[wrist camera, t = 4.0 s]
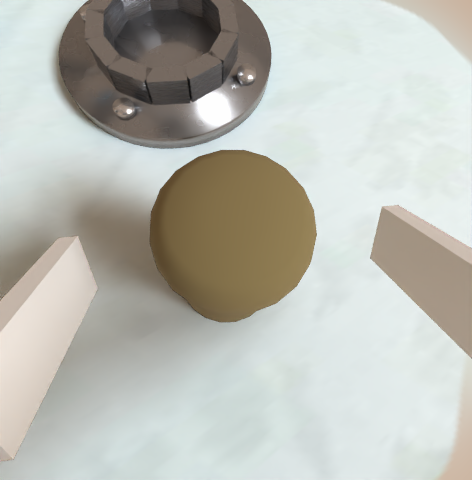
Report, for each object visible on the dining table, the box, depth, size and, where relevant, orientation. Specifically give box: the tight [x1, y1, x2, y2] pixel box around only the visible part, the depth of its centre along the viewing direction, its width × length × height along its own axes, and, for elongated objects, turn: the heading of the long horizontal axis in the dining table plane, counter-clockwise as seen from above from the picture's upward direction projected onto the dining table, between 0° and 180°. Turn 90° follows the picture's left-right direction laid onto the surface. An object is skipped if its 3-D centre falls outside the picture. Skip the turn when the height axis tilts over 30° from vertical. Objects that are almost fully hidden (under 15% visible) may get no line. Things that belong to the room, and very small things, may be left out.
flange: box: [59, 0, 271, 148], centre depth 21 cm, size 16×16×3 cm
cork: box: [150, 150, 317, 322], centre depth 12 cm, size 6×6×11 cm
